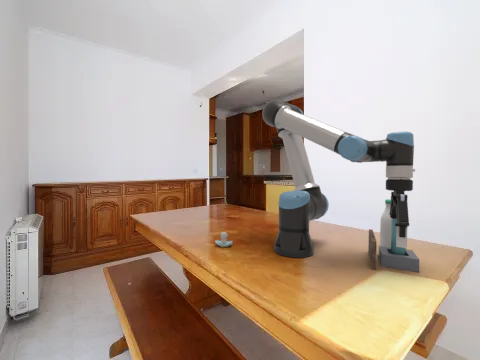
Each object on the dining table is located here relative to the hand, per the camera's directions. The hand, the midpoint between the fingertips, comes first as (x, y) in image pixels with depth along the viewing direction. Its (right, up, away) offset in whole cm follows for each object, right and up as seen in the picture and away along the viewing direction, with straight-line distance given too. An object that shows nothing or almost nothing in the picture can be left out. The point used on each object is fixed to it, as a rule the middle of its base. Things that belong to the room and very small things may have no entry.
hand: (397, 241), depth 78 cm
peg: (0, -7, 0) cm, 7 cm away
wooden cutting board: (-7, -8, +4) cm, 11 cm away
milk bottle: (+9, -7, +17) cm, 21 cm away
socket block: (0, -8, 0) cm, 8 cm away
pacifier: (-60, -7, +20) cm, 64 cm away
